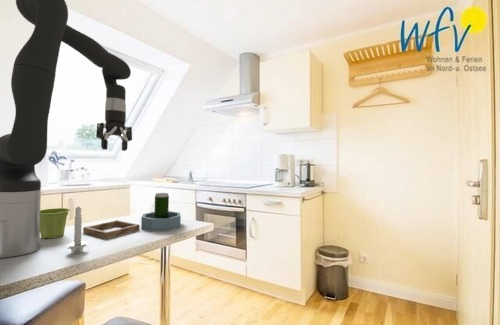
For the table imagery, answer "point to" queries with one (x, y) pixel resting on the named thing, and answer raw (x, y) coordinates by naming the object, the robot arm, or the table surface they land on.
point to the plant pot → (53, 222)
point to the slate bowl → (160, 222)
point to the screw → (77, 234)
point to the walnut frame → (97, 231)
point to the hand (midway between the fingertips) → (114, 150)
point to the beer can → (161, 205)
